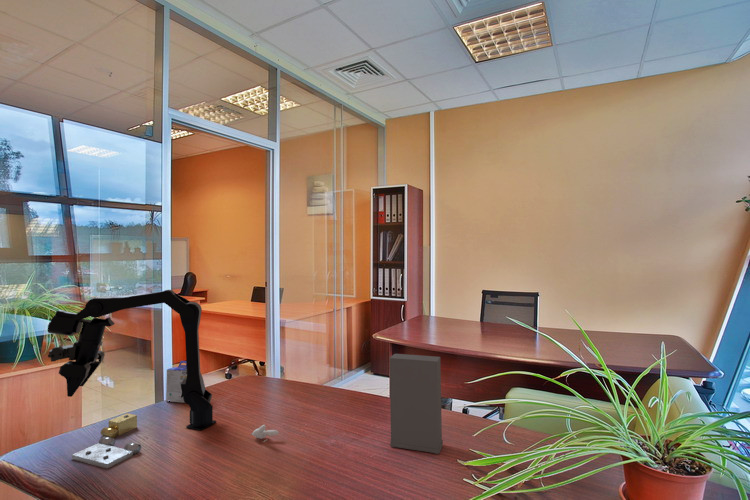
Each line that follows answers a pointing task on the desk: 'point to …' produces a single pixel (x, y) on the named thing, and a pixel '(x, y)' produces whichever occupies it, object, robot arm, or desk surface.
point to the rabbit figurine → (263, 432)
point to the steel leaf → (106, 453)
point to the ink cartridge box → (175, 382)
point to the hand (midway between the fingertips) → (75, 391)
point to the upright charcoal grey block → (416, 402)
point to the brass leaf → (120, 425)
